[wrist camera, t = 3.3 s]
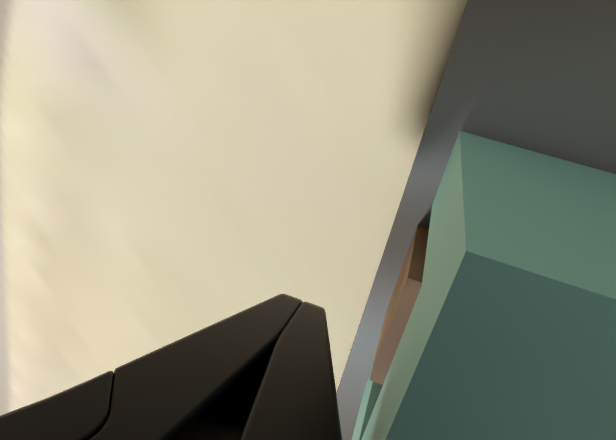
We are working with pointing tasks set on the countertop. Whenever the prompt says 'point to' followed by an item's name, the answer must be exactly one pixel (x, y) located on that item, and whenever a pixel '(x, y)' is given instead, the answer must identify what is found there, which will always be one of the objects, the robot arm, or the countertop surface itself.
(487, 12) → the rail track
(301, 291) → the countertop surface
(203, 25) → the countertop surface
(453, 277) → the block
